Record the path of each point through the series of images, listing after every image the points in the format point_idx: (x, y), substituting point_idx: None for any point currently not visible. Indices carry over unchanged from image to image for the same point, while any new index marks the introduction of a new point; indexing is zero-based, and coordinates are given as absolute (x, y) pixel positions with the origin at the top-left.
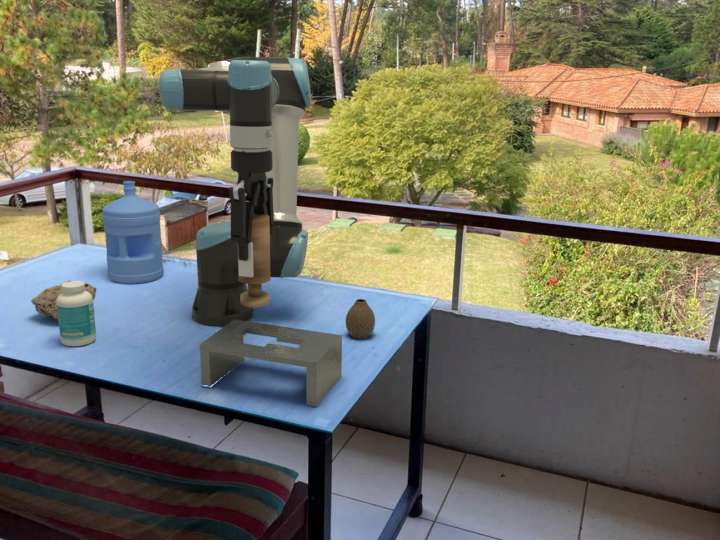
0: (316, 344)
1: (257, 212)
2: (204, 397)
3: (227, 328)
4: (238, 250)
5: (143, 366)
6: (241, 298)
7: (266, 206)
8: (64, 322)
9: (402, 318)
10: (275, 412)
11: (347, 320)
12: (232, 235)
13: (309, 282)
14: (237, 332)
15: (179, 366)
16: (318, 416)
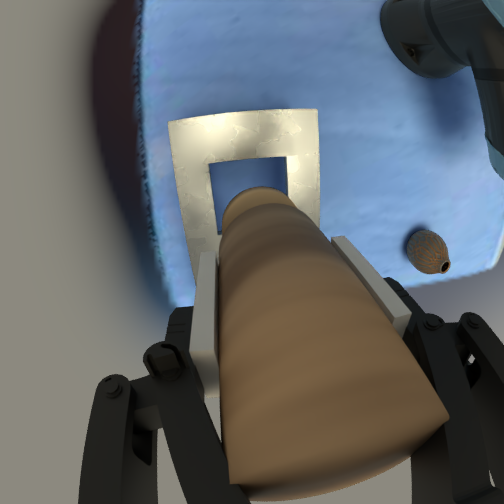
0: None
1: (430, 446)
2: (156, 147)
3: (265, 121)
4: (165, 340)
5: (203, 8)
6: (229, 209)
7: (489, 432)
8: None
9: (457, 264)
10: (172, 252)
11: (422, 242)
12: (98, 410)
13: None
14: (255, 152)
15: (228, 49)
16: (191, 296)
